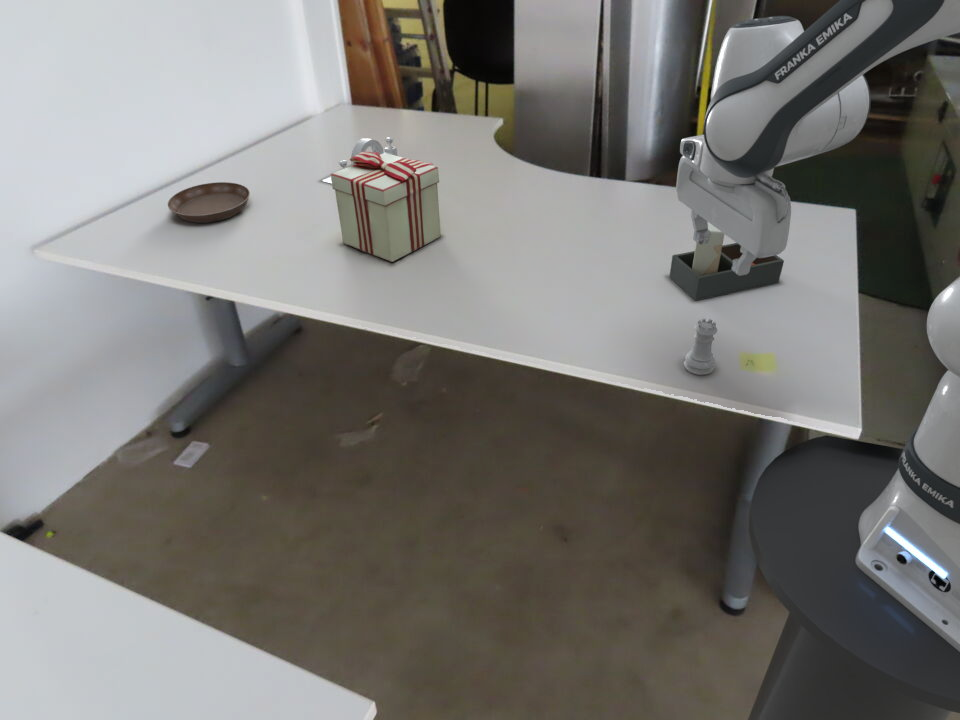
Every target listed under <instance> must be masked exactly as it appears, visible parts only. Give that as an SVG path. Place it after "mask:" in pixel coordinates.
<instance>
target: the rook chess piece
mask: <svg viewBox="0 0 960 720" xmlns="http://www.w3.org/2000/svg"><path fill="white" fill-rule="evenodd" d="M693 329H694V331H695V332H696V333H695V334H694V343H693V345H692V348H691V349H690V350H689V351H688V353H687V354H686V355H685V356H684V358H685V359H684V360H683V366H684V368H685V369H686V370H687V372H689V373H690V374H693V375H696V376H707V375H708V374H710V373H712V372H713V371H714V370H715V363H716V361H715V357H714V354H713V352H712V347H713V345H712V344H713V342H714V340H715V336H714V335H716V334H717V333H718V327H717V323H716V322H715V321H713V319H710V318H708V321H707V318H702V319H699V320H697V323H696V324H695V325H694V328H693Z"/></svg>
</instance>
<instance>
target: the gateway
mask: <svg viewBox="0 0 960 720" xmlns="http://www.w3.org/2000/svg"><path fill="white" fill-rule="evenodd" d="M384 141H385V142H386V144H388V146H386V147H385V148H383V146H382V143H380V142H379V141H378V140H376V139H372V138H366V137H365V138H360V139H359V140H358V141H357V143H355V145H354V147H353V149H352V151H351V155H350V158H352V157H354V156H356V155H358V154H359V153H361V152H366V150H367V149H368V148H369V147H370V148H371V152H372V153H375V152H377V151H378V153H379V155H381V154H383V153H388V154H391V155H395V156H398V149H397V147H396V146H392V145H391V144H393V142H394V137H390V136H388V137H386V138H385V139H384ZM350 162H351V166H352V165H355V164H354V162H353V161H350ZM338 164H339V166H340V167H341V168H342V169H345V168H347V165H348V161H347V160H345V159H342V160H340V161H339V162H338ZM322 182H324V183H328V184H331V185H332V181H331V176H329V177H326V178H325V179H323V180H322Z"/></svg>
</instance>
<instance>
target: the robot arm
mask: <svg viewBox="0 0 960 720" xmlns="http://www.w3.org/2000/svg"><path fill="white" fill-rule="evenodd" d="M959 33H960V0H838V2H837V3H835V4H834V5H833V6H832V7H830V8H829V9H828V10H827V11H826V12H825V13H823V14H822V15H821V16H820V17H819V18H818V19H816V20H815V21H814V22H813V23H812V24H811V25H809V26H808V27H807V28H806V29H805V30H804V27H803V25H802V23H801V21H800V20H799V19H797V18H795V17H792V16H789V15H773V16H766V17H758V18H752V19H746V20H742V21H739V22H737V23H735V24H734V25H732V26H731V27H730V28H729V29H728V30H727V31H726V34H725V36H724V38H723V40H722V42H721V46H720V49H719V52H718V55H717V59H716V63H715V68H714V73H713V74H714V75H713V79H712V85H711V92H710V101H709V104H708V105H707V109H706V112H705V116H704V122H703V134H699V135H694V136H689V137H685V138H682V139H681V141H680V144H679V153H680V154H681V155H682V156H681V157H680V160H679V163H678V167H677V176H676V183H675V185H676V186H675V191H676V196H677V199H678V201H679V202H680V203H681V204H683V205H685V206H686V207H687V208H689V209H690V210H691V213H690V217H691V222H692V226H693V235H692V239H693V241H694V242H697V243H698V244H700V245H701V244H706V243H708V242H709V241H710V235H711V231H710V230H708V222H709V223H710V224H712V225H713V226H714V227H716V228H717V229H719V230H720V231H721V232H723V233H724V236H727V237H728V238H729V239H731V240H732V241H733V242H734V243H738V244H739V245H740V246H741V249H740V252H741V253H743V254H742V256H741V257H740V258H739V259H733V266H732V270H733V271H734V272H735V273H736V274H737V275H739V276H741V275H746V274H748V273H749V271H750V267H751V263H752V262H753V261H754V260H755V259H756V258H765V257H770V256H774V255H777V256H778V255H780V254H781V253H782V252H784V251H785V250H786V248H787V245H788V239H789V235H790V227H791V218H792V203H791V197H790V195H789V194H788V191H787V189H786V184H784V183H783V182H782V181H780V180H778V179H776V178H774V177H773V174H774V171H775V168H777V167H780V166H783V165H787V164H791V163H795V162H798V161H801V160H804V159H808V158H811V157H814V156H817V155H820V154H823V153H827V152H830V151H832V150H836V149H839V148H840V147H843V146H845V145H848V144H850V143H851V142H853V140H855V139H856V138H857V137H858V136H859V135H860V134H861V132H862V130H863V129H864V127H865V126H866V123H867V121H868V119H869V115H870V111H871V102H872V101H871V100H872V99H871V97H872V96H871V90H870V86H869V83H868V80H867V78H866V77H865V74H866V73H867V72H868V71H870V70H872V69H873V68H874V67H876V66H878V65H880V64H882V63H883V62H885V61H887V60H889V59H891V58H892V57H895V56H897V55H899V54H901V53H903V52H906V51H909V50H910V49H914V48H916V47H918V46H921V45H924V44H927V43H929V42H933V41H935V40H940V39H943V38H946V37H948V36H952V35H955V34H959ZM926 333H927V338H928V341H929V344H930V347H931V350H932V351H933V354H935V356H936V357H937V359H938V360H939V361H940V363H941V365H942V366H944V367H945V369H947V370H946V371H945V373H944V374H943V375H942V377H941V379H940V380H939V382H938V384H937V386H936V388H935V391H934V393H933V395H932V397H931V399H930V401H929V403H928V406H927V408H926V411H925V413H924V414H923V417H922V420H921V421H920V424H919V425H918V426H917V428H915V429H913V431H912V432H911V433H910V435H909V437H908V439H907V441H906V443H905V445H904V447H903V448H902V449H903V451H902V453H901V456H900V458H899V463H898V465H899V468H898V470H897V472H896V473H895V475H894V476H893V478H892V480H891V481H890V483H889V484H888V485H887V487H886V488H885V489H884V491H883V492H882V493H881V495H880V496H879V497H878V498H877V499H876V500H875V501H874V502H873V503H872V504H871V505H869V506H868V507H867V508H866V509H865V510H864V511H863V513H862V514H861V517H860V519H859V527H858V529H859V536H860V542H861V546H860V548H859V550H858V552H857V555H856V559H855V562H856V565H857V566H858V567H859V568H860V569H861V570H862V571H863V572H864V573H865V574H867V575H868V576H869V577H870V578H871V579H873V580H874V581H875V582H876V583H877V584H879V585H880V586H881V587H882V588H883V589H885V590H886V591H887V592H888V593H889V594H891V595H892V596H893V597H894V598H895V599H897V600H898V601H899V602H900V603H901V604H903V605H904V606H905V607H906V608H907V609H909V610H910V611H911V612H912V613H913V614H915V615H916V616H917V617H918V618H919V619H921V620H922V621H923V622H924V623H926V624H927V625H928V626H929V627H930V628H932V629H933V630H934V631H935V632H936V633H938V634H939V635H940V636H941V637H942V638H944V639H945V640H946V641H947V642H948V643H950V644H951V645H952V646H953V647H954V648H956V649H957V650H958V651H959V652H960V276H958V277H957V278H956V279H955V280H954V281H952V282H951V283H950V284H949V285H947V286H946V287H945V288H944V289H942V291H941V292H940V293H939V294H937V296H936V297H935V298H934V300H933V302H932V303H931V305H930V307H929V309H928V313H927V319H926ZM875 568H876V569H878V570H880V571H878V570H876V569H875Z"/></svg>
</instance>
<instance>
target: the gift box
mask: <svg viewBox="0 0 960 720" xmlns="http://www.w3.org/2000/svg"><path fill="white" fill-rule="evenodd" d="M351 161H353V162H354V164H355V165H352V164H351V165H350V166H348V167H347V166H346V167H344V168H342V169H340V170H337V171H335V172H332V173H331V174H330V177H331V181H332V184H331V186H332V190H334V193H335V200H336V205H337V212H338V218H339V225H340V231H341V237H342V243H343V244H345V245H347V246H349V247H352V248H355V249H357V250H359V251H361V252H363V253H368V254H369V255H373V256H375V257H378V258H380V259H383V260H386V261H388V262H391V263H393V262H395V261H397V260H400V259H401V258H403V257H405V256H407V255H408V254H410V253H413V252H415V251H416V250H418V249H420V248H422V247H424V246H425V245H428V244H430V243H432V242H433V241H435V240H437V239H439V238H440V237H441V236H442V234H441V232H442V231H441V219H440V206H439V205H440V204H439V190H438V184H439V182H440V174H439V167H438V166H436V165H434V163H433V162H424V161H422V160H417V159H415V160H414V159H410V158H407V157H402V156H398V155H397V156H395V155H391V154H388V153H383V154H381V155H379V153H378V151H377V152H375V153H373V151H365V152H361V153H359V154H358V155H356V156H354V157H352V158H351V157H350V158H349V162H351Z"/></svg>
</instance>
